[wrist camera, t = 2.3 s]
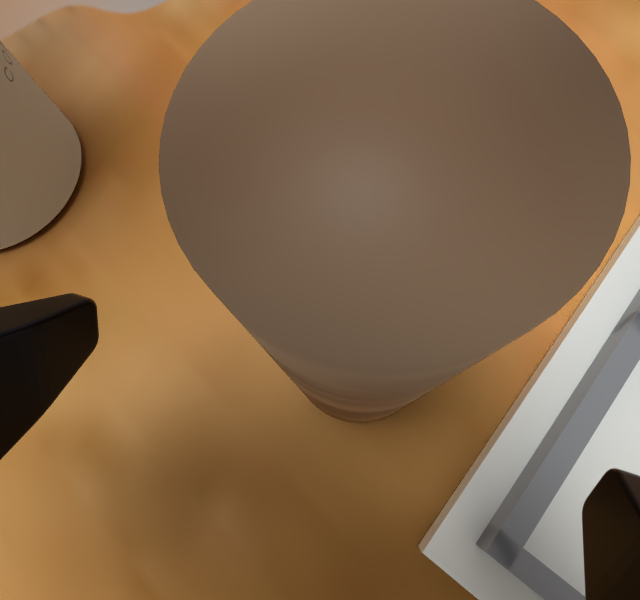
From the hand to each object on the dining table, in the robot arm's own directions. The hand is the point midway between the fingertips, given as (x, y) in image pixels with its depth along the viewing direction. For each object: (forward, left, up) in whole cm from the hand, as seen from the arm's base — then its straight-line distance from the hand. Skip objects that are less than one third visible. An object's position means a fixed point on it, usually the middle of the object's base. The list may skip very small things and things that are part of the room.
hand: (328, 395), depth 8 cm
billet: (+2, -2, -10) cm, 11 cm away
